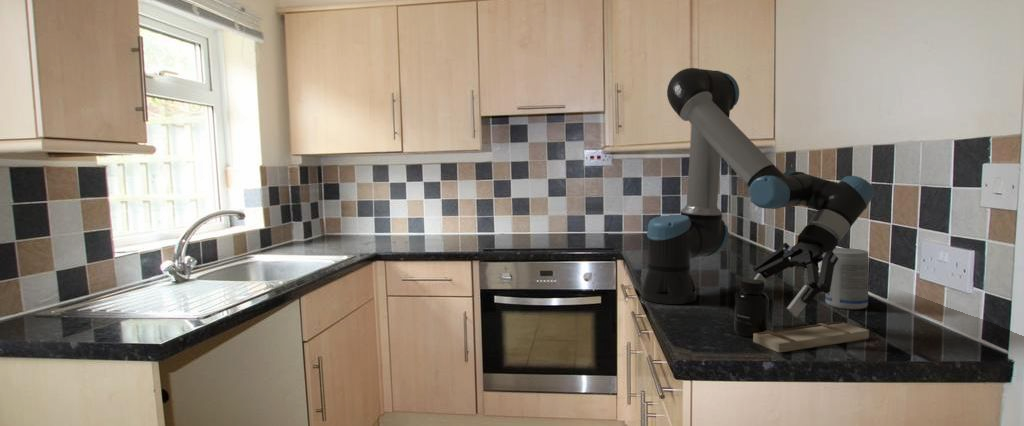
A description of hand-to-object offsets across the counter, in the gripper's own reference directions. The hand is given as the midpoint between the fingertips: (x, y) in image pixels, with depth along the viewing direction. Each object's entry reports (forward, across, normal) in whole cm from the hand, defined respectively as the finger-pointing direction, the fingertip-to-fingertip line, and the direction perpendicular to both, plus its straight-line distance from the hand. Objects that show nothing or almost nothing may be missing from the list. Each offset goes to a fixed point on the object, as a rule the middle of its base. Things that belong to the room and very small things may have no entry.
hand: (767, 305), depth 116 cm
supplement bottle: (+7, +1, -2) cm, 8 cm away
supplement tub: (-20, +12, -30) cm, 38 cm away
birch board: (+1, -7, -8) cm, 11 cm away
